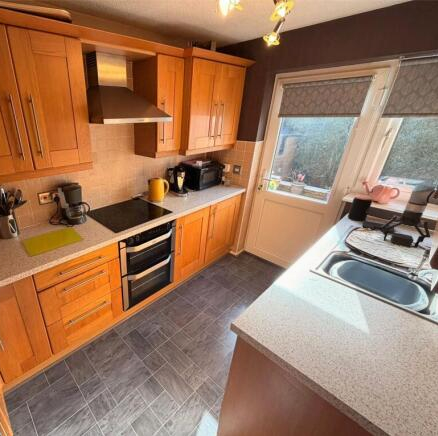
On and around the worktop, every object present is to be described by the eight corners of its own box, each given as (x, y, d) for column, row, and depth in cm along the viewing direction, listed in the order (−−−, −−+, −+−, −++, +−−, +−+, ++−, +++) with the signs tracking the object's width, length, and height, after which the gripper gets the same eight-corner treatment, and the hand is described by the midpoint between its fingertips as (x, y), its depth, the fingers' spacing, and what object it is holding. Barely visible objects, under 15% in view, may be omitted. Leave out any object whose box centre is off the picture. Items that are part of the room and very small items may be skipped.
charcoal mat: (393, 234, 153) (394, 231, 153) (362, 228, 163) (362, 225, 163) (392, 228, 163) (393, 225, 162) (362, 222, 173) (363, 220, 172)
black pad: (410, 247, 137) (413, 240, 135) (391, 243, 142) (394, 236, 140) (408, 241, 144) (411, 234, 142) (390, 237, 149) (393, 230, 147)
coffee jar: (366, 222, 173) (374, 199, 166) (348, 220, 178) (355, 197, 172) (363, 218, 181) (371, 196, 175) (346, 215, 187) (353, 194, 180)
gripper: (445, 214, 129) (428, 247, 137) (384, 204, 145) (372, 235, 152) (448, 217, 124) (431, 251, 132) (384, 207, 139) (372, 238, 147)
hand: (399, 243), depth 142 cm, fingers open, 13 cm apart
